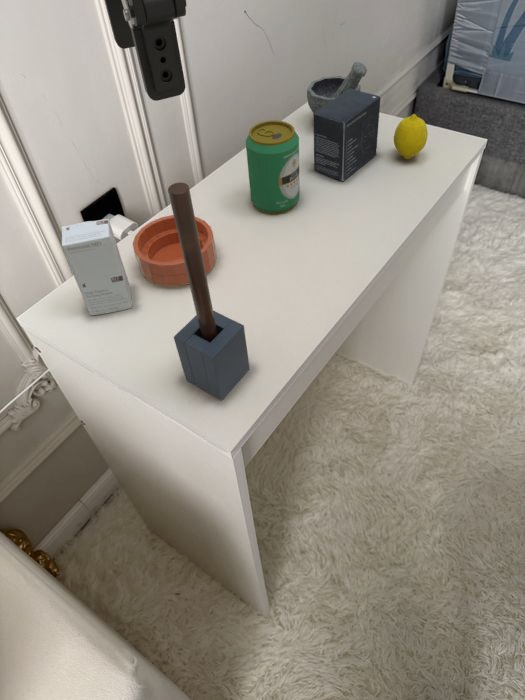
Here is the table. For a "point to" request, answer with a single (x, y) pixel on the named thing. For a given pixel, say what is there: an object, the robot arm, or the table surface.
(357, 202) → the table surface
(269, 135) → the beverage can
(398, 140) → the fruit
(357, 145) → the box
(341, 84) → the mortar and pestle
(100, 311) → the cosmetic box
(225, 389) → the holder
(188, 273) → the stick
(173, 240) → the bowl
